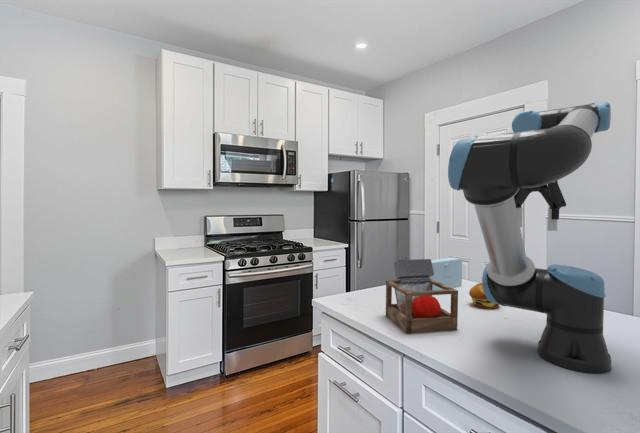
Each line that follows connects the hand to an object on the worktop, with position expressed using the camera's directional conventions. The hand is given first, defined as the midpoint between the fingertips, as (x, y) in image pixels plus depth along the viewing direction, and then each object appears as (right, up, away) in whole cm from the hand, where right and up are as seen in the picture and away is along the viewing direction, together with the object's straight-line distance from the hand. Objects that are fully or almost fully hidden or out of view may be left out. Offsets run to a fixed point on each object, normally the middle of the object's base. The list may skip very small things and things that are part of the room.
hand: (533, 228), depth 109 cm
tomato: (-34, -29, -1) cm, 45 cm away
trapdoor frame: (-35, -31, +5) cm, 48 cm away
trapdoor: (-36, -22, +9) cm, 44 cm away
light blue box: (-12, -30, +50) cm, 59 cm away
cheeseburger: (-5, -31, +23) cm, 39 cm away
